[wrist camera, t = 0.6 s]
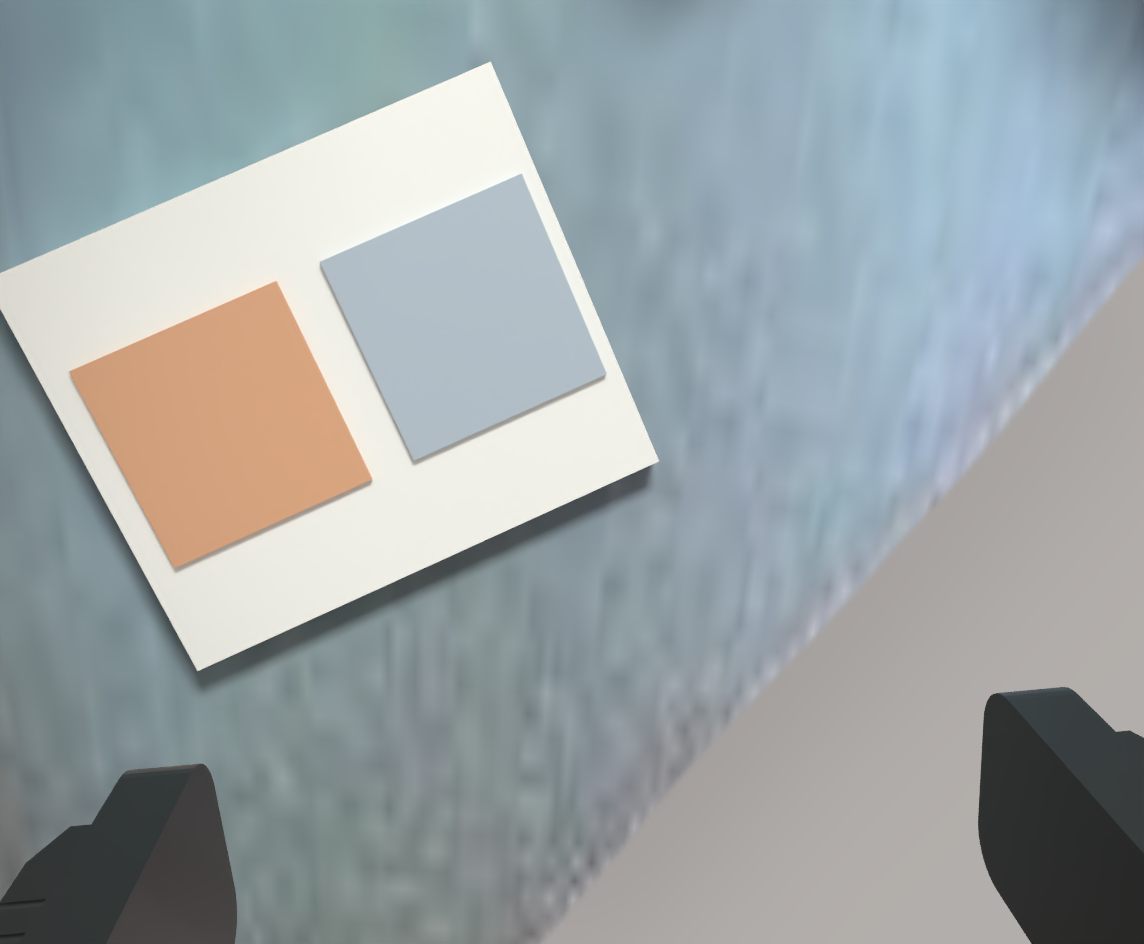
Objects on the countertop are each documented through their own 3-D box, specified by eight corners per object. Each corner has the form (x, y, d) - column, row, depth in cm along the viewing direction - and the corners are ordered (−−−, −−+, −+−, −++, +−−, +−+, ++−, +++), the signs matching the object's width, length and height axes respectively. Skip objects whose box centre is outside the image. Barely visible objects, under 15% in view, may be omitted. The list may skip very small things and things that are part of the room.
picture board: (-3, 280, 34) (-19, 280, 33) (488, 68, 34) (490, 60, 33) (203, 661, 37) (196, 673, 35) (653, 456, 37) (660, 462, 36)
